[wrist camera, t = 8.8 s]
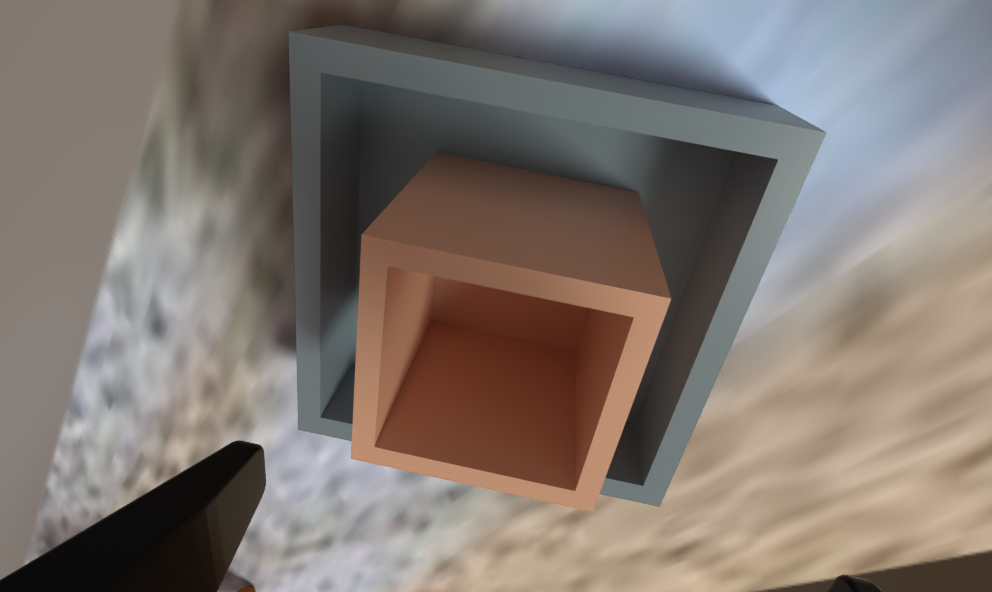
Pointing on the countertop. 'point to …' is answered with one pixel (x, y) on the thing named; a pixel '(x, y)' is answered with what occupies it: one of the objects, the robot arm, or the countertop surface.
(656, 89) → the large crate
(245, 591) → the carrot
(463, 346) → the small crate
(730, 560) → the countertop surface
